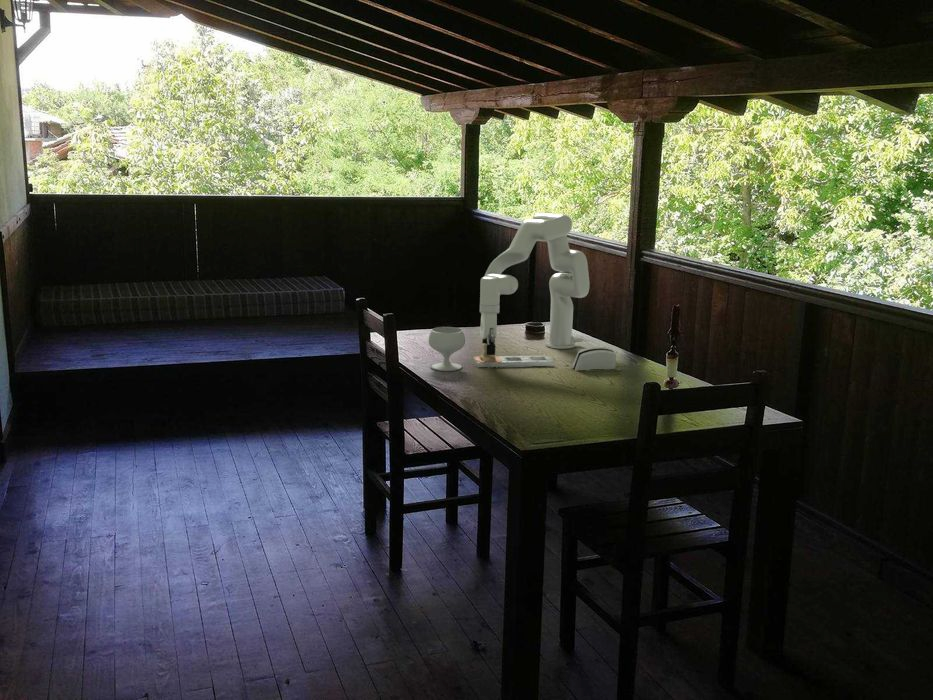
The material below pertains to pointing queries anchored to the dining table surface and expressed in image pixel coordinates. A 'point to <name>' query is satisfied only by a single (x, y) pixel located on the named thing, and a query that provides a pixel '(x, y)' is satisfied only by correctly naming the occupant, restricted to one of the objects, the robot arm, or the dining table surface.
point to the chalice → (446, 345)
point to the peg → (484, 353)
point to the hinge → (595, 359)
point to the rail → (515, 361)
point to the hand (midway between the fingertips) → (488, 351)
